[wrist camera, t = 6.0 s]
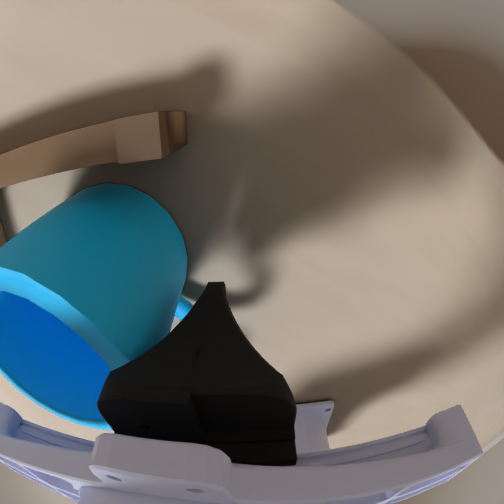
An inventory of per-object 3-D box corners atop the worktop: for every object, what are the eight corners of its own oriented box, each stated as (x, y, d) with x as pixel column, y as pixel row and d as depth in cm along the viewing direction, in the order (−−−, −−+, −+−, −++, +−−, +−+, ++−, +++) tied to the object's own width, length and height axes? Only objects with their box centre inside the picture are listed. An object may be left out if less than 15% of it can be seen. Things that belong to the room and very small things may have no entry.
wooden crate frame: (217, 368, 19) (213, 421, 15) (46, 354, 19) (25, 392, 15) (185, 111, 12) (158, 111, 8) (-24, 166, 11) (-69, 188, 8)
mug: (45, 266, 15) (-28, 353, 8) (86, 153, 12) (-37, 212, 5) (198, 361, 18) (184, 471, 11) (278, 280, 16) (299, 415, 8)
